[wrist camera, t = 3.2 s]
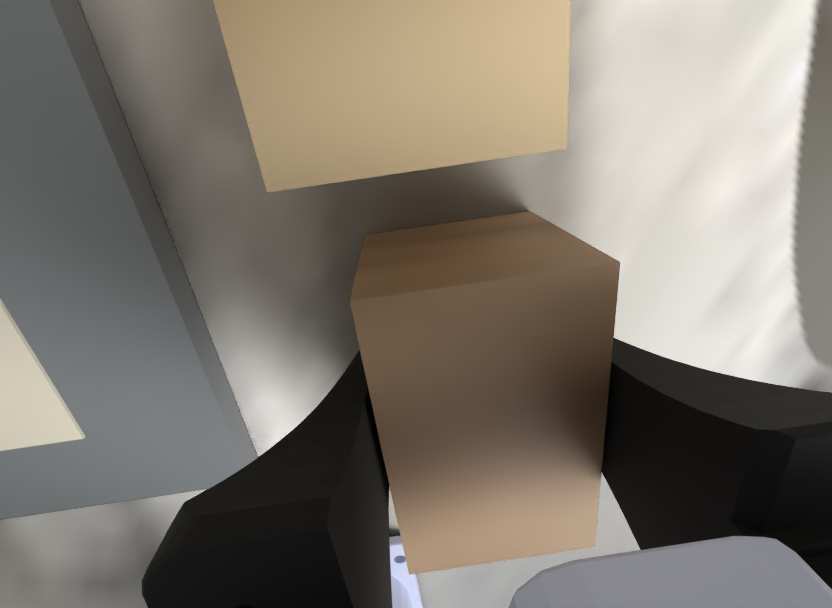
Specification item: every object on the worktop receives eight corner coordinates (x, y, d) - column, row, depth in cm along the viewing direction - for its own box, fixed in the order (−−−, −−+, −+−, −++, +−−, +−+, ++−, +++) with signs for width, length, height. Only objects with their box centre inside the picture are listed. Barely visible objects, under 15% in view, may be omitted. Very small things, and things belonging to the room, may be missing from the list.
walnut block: (532, 420, 15) (594, 546, 10) (402, 439, 15) (408, 574, 10) (529, 210, 12) (620, 261, 7) (364, 234, 12) (348, 301, 7)
